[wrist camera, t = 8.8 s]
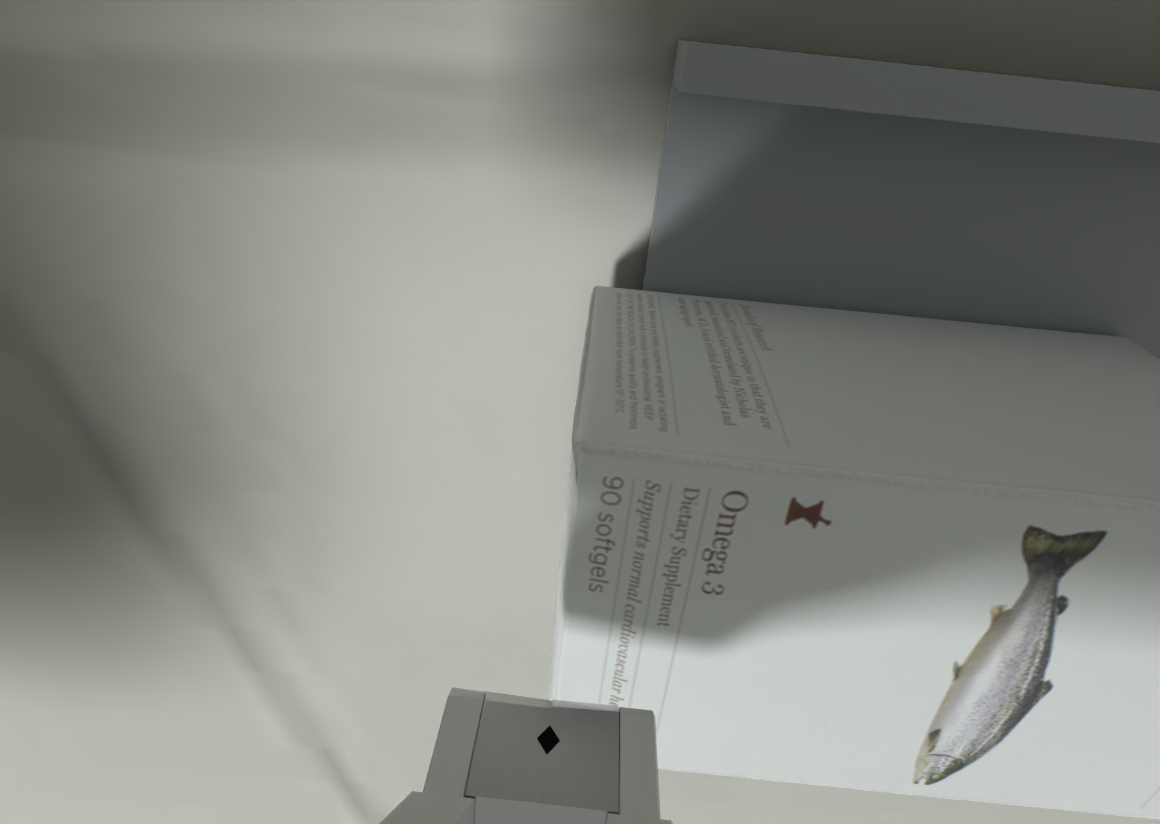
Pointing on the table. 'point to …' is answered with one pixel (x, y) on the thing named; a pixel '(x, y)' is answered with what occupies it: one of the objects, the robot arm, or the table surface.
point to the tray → (909, 192)
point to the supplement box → (868, 550)
